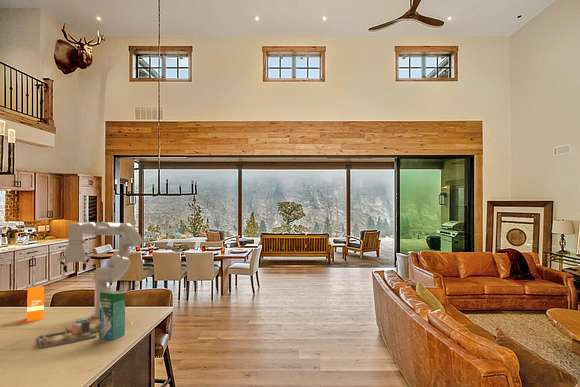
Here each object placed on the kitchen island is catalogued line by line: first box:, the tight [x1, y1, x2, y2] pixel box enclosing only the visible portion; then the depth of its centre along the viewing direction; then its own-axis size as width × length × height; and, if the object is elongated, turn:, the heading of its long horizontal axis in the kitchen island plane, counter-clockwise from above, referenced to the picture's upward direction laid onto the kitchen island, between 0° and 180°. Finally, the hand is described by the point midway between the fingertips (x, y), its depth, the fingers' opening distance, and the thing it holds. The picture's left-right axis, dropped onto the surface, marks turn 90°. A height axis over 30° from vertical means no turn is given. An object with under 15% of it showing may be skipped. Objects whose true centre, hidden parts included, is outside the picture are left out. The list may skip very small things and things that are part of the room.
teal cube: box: [75, 317, 89, 329], centre depth 211 cm, size 5×5×5 cm
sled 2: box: [64, 322, 100, 334], centre depth 213 cm, size 21×7×8 cm, turn 129°
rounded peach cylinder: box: [71, 323, 81, 335], centre depth 201 cm, size 4×4×5 cm
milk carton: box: [98, 290, 126, 341], centre depth 205 cm, size 9×9×25 cm
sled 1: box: [42, 320, 91, 345], centre depth 199 cm, size 21×7×8 cm, turn 129°
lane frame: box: [36, 330, 98, 350], centre depth 202 cm, size 26×19×1 cm
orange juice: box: [26, 285, 45, 322], centre depth 237 cm, size 8×9×20 cm
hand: (74, 271), depth 225 cm, fingers open, 9 cm apart
